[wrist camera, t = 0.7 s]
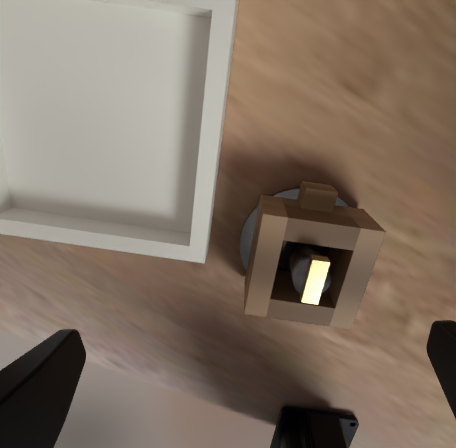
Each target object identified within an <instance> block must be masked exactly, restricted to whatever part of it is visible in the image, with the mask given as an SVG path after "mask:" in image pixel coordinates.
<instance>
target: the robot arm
mask: <svg viewBox="0 0 456 448" xmlns="http://www.w3.org/2000/svg"><path fill="white" fill-rule="evenodd" d="M427 354H428V357H429V359H430V361H431V364H432V366H433V368H434V371H435V373H436V375H437V377H438V380H439V382H440V384H441V387H442V389H443V391H444V394H445V396H446V398H447V401H448V403H449V405H450V407H451V410H452V412H453V414H454V416H455V418H456V322H455V321H451V320H443V321H435V322H434V323H433V324H432V327H431V330H430V334H429V338H428V342H427ZM85 360H86V351H85V348H84V345H83V342H82V340H81V337H80V334H79V332H78V331H77V330H75V329H63V330H59V331H58V332H56V333H55V334H53V335H52V336H50V337H49V338H47V339H46V340H44V341H43V342H42V343H40V344H39V345H37V346H36V347H34V348H33V349H32V350H30V351H28V352H27V353H25V354H24V355H23V356H21V357H20V358H19V359H17V360H15V361H14V362H12V363H11V364H9V365H8V366H7V367H5V368H3V369H2V370H1V371H0V448H53V447H54V445H55V443H56V441H57V438H58V436H59V434H60V432H61V429H62V427H63V424H64V422H65V419H66V417H67V414H68V411H69V408H70V405H71V402H72V399H73V396H74V393H75V390H76V387H77V384H78V381H79V378H80V375H81V372H82V369H83V366H84V363H85ZM358 426H359V423H358V420H357V418H356V417H355V416H350V415H343V414H336V413H329V412H322V411H316V410H309V409H302V408H295V407H288V406H285V407H283V408H282V409H281V411H280V415H279V418H278V422H277V425H276V429H275V432H274V436H273V439H272V443H271V446H270V448H349V446H350V444H351V442H352V439H353V437H354V435H355V433H356V430H357V428H358Z"/></svg>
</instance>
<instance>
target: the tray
mask: <svg viewBox="0 0 456 448" xmlns="http://www.w3.org/2000/svg"><path fill="white" fill-rule="evenodd" d="M238 5H239V0H0V234H6V235H13V236H20V237H26V238H33V239H40V240H47V241H54V242H61V243H68V244H74V245H81V246H88V247H95V248H102V249H109V250H116V251H123V252H129V253H136V254H143V255H150V256H157V257H164V258H171V259H178V260H184V261H191V262H198V263H205V259H206V255H207V251H208V247H209V241H210V233H211V225H212V216H213V208H214V200H215V192H216V184H217V176H218V168H219V159H220V151H221V143H222V135H223V127H224V119H225V111H226V102H227V94H228V86H229V78H230V70H231V62H232V54H233V45H234V37H235V29H236V21H237V13H238Z"/></svg>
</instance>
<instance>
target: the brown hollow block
mask: <svg viewBox="0 0 456 448" xmlns="http://www.w3.org/2000/svg"><path fill="white" fill-rule="evenodd" d="M337 196H338V192H337V191H336V190H335V189H334V188H333V187H332V185H327V184H320V183H313V182H306V181H302V182H301V186H300V190H299V195H298V199H297V200H296V199H289V198H283V197H276V196H269V195H262V194H261V195H260V200H259V206H258V211H257V217H256V222H255V228H254V233H253V239H252V244H251V250H250V255H249V261H248V266H247V272H246V278H245V300H244V314H248V315H255V316H261V317H268V318H275V319H282V320H289V321H296V322H303V323H309V324H316V325H323V326H330V327H337V328H344V329H352V326H353V323H354V320H355V317H356V315H357V312H358V309H359V306H360V303H361V301H362V298H363V295H364V292H365V290H366V287H367V284H368V281H369V278H370V276H371V273H372V270H373V267H374V265H375V262H376V259H377V256H378V253H379V251H380V248H381V245H382V242H383V239H384V237H385V234H386V231H385V230H384V229H383V228H382V227H381V226H380V225H379V224H378V223H377V222H376V221H375V220H374V219H373V218H372V217H371V216H369V215H368V214H367V213H366V212H365V211H364V210H363V209H358V208H352V207H345V206H338V205H335V203H336V199H337ZM283 240H285V241H292V242H299V243H305V244H312V245H319V246H326V247H330V250H329V253H328V259H329V261H330V265H329V269H328V271H329V273H330V276H331V283H330V286H329V287H328V289H327V290H326V291H325V292H323V293H322V294H321V296H320V299H319V302H318V305H316V304H309V303H303V302H301V300H300V296H299V295H300V293H299V292H298V291H297V290H296V289H295V287H294V284H293V280H292V276H291V272H289V271H282V270H277V266H278V261H279V257H280V252H281V248H282V243H283Z"/></svg>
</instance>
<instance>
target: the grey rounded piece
mask: <svg viewBox="0 0 456 448" xmlns="http://www.w3.org/2000/svg"><path fill="white" fill-rule="evenodd" d="M299 190H300V188H292V189H287V190H284V191H281V192H278V193H276V194H274V195H272V196H276V197H283V198H289V199H296V200H297V199H298V195H299ZM335 205H338V206H345V207H349V206H348V205H347V204H346V203H345V202H344V201H343V200H342V199H340V198H339V197H337V199H336V203H335ZM258 206H259V205H258ZM258 206H257V207H256V208H255V209H254V210H253V211H252V212H251V214H250V215H249V216H248V218H247V220H246V221H245V223H244V226H243V228H242V232H241V236H240V256H241V260H242V263H243V266H244V268H245V270H246V272H247V266H248V261H249V255H250V250H251V244H252V239H253V233H254V228H255V222H256V217H257V211H258ZM329 250H330V247H326V246H319V245H312V244H305V243H299V242H292V241H285V240H283V243H282V248H281V252H280V257H279V261H278V266H277V270H282V271H289V272H291V276H292V280H293V284H294V287H295V289H296V290H297V291H298V292H299V293H300V295H299V296H300V300H301V302H303V303H309V304H316V305H318V302H319V299H320V296H321V294H322V293H323V292H325V291H326V290H327V289H328V287H329V286H330V283H331V276H330V273H329V271H328V269H329V265H330V261H329V259H328V253H329Z"/></svg>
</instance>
